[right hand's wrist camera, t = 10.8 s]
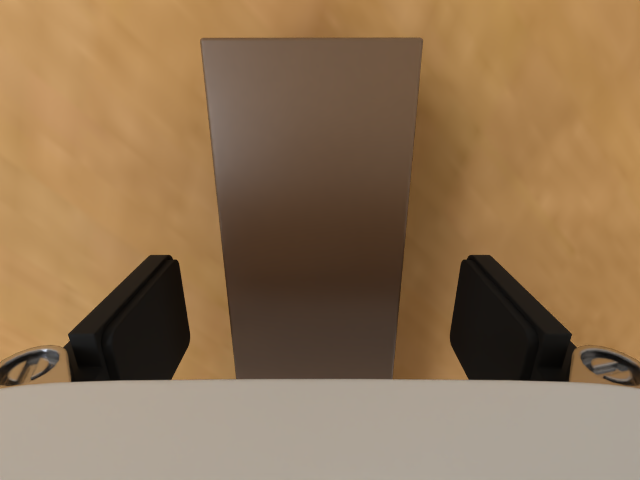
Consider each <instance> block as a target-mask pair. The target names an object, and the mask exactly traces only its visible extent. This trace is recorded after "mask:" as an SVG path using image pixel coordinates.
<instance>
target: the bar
mask: <svg viewBox="0 0 640 480" xmlns="http://www.w3.org/2000/svg"><path fill="white" fill-rule="evenodd" d="M200 44H201V53H202V62H203V72H204V81H205V91H206V100H207V109H208V119H209V128H210V137H211V147H212V156H213V166H214V175H215V184H216V194H217V203H218V212H219V222H220V231H221V241H222V250H223V259H224V269H225V278H226V287H227V297H228V306H229V316H230V325H231V334H232V344H233V353H234V362H235V372H236V379H393V368H394V357H395V346H396V335H397V323H398V312H399V301H400V290H401V279H402V268H403V257H404V246H405V235H406V224H407V213H408V202H409V191H410V179H411V168H412V157H413V146H414V135H415V124H416V113H417V102H418V91H419V80H420V69H421V58H422V47H423V40H422V38H202V39H201V41H200Z"/></svg>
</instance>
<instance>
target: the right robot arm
mask: <svg viewBox="0 0 640 480" xmlns="http://www.w3.org/2000/svg"><path fill="white" fill-rule="evenodd" d="M68 336H69V339H70V341H69V342H68V343H67V344H66V345H65V346H64V347H63V348H62V347H60V346H54V345H46V346H38V347H34V348H30V349H26V350H24V351H21V352H18V353H16V354H14V355H12V356H10V357H8V358H6V359H4V360H3V361H1V362H0V480H640V362H639V361H637V360H636V359H634V358H632V357H630V356H628V355H626V354H624V353H622V352H619V351H616V350H614V349H610V348H606V347H602V346H594V345H586V346H580V347H578V348H577V347H576V346H575V345H574V344H573V343H572V342H571V341H570V339H571V336H572V334H571V333H570V332H569V331H568V330H567V329H566V328H565V327H564V326H563V325H562V324H561V323H560V322H559V321H558V320H557V319H556V318H555V317H554V316H553V315H552V314H550V313H549V312H548V311H547V310H546V309H545V308H544V307H543V306H542V305H541V304H540V303H539V302H538V301H537V300H536V299H535V298H534V297H533V296H532V295H531V294H530V293H529V292H528V291H527V290H526V289H525V288H524V287H523V286H521V285H520V284H519V283H518V282H517V281H516V280H515V279H514V278H513V277H512V276H511V275H510V274H509V273H508V272H507V271H506V270H505V269H504V268H503V267H502V266H501V265H500V264H499V263H498V262H497V261H496V260H495V259H494V258H493V257H491V256H490V255H470V256H469V257H468V258H467V260H463V261H462V262H461V266H460V273H459V279H458V286H457V292H456V299H455V305H454V311H453V318H452V324H451V331H450V342H451V346H452V348H453V350H454V352H455V354H456V356H457V358H458V360H459V361H460V363H461V365H462V367H463V369H464V371H465V373H466V375H467V377H468V379H469V380H419V379H214V380H171V379H172V377H173V375H174V373H175V371H176V369H177V367H178V365H179V363H180V361H181V360H182V358H183V356H184V354H185V352H186V350H187V348H188V346H189V342H190V331H189V324H188V318H187V311H186V305H185V299H184V292H183V286H182V279H181V273H180V267H179V262H178V261H177V260H173V258H172V257H171V256H170V255H150V256H149V257H147V258H146V259H145V260H144V261H143V262H142V263H141V264H140V265H139V266H138V267H137V268H136V269H135V270H134V271H133V272H132V273H131V274H130V275H129V276H128V277H127V278H126V279H125V280H124V281H123V282H122V283H121V284H120V285H118V286H117V287H116V288H115V289H114V290H113V291H112V292H111V293H110V294H109V295H108V296H107V297H106V298H105V299H104V300H103V301H102V302H101V303H100V304H99V305H98V306H97V307H96V308H95V309H94V310H93V311H92V312H91V313H90V314H88V315H87V316H86V317H85V318H84V319H83V320H82V321H81V322H80V323H79V324H78V325H77V326H76V327H75V328H74V329H73V330H72V331H71V332H70V333H69V334H68Z"/></svg>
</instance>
